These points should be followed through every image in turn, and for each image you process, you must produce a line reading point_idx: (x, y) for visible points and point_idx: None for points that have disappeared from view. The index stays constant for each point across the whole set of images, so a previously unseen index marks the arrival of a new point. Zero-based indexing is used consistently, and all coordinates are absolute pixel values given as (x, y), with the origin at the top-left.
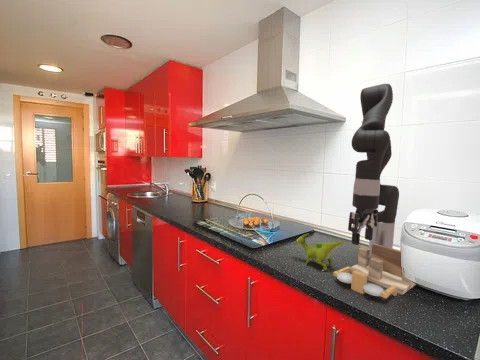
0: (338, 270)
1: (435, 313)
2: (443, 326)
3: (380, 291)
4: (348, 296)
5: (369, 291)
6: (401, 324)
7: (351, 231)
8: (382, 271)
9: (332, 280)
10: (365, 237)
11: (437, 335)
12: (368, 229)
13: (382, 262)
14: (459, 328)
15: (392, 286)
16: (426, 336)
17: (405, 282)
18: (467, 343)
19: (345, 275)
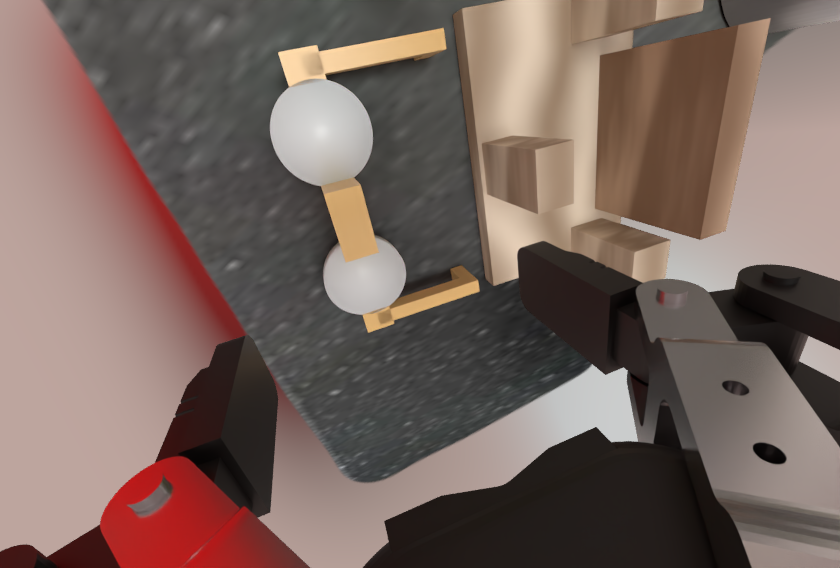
0: (332, 49)
1: (468, 372)
2: (424, 413)
3: (368, 308)
4: (253, 226)
5: (326, 290)
6: (315, 395)
7: (70, 554)
8: (588, 132)
9: (279, 58)
10: (526, 258)
11: (370, 436)
12: (604, 330)
13: (560, 205)
14: (453, 422)
15: (455, 290)
16: (337, 437)
17: (564, 244)
18: (408, 459)
19: (324, 129)
